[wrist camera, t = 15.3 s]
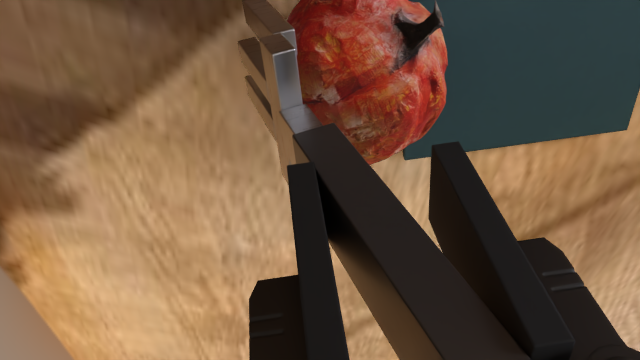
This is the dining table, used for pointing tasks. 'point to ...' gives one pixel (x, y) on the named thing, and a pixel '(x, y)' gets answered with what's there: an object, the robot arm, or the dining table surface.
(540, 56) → the mat
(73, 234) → the dining table surface
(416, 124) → the red round fruit
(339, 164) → the fork
